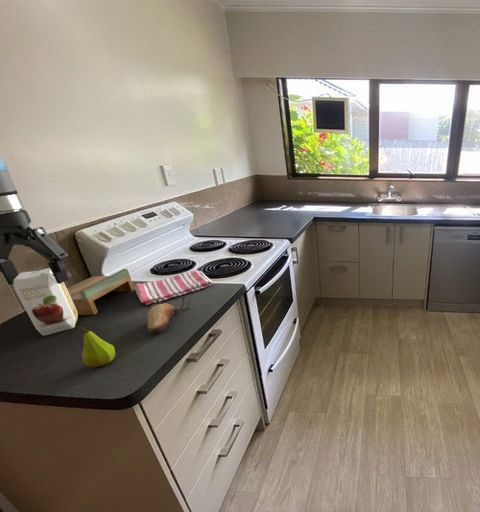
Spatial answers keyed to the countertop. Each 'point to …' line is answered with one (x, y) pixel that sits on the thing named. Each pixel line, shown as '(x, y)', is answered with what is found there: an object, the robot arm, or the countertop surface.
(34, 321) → the juice carton
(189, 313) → the countertop surface
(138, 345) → the countertop surface
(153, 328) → the vegetable
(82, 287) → the shelf
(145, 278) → the countertop surface
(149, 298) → the dish towel
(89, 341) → the fruit
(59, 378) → the countertop surface
